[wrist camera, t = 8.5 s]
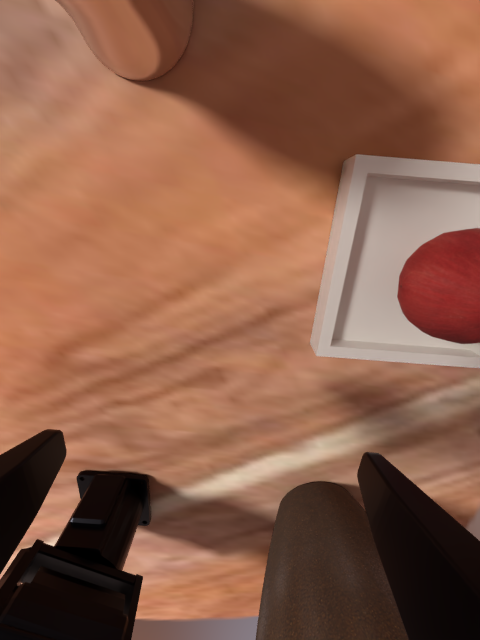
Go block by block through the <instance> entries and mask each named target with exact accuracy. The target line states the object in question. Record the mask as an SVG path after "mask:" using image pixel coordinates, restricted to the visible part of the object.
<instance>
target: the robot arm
mask: <svg viewBox="0 0 480 640" xmlns="http://www.w3.org/2000/svg"><path fill="white" fill-rule="evenodd" d="M65 457H66V446H65V441H64V436H63V432H62V431H60V430H52V429H47V430H44V431H42V432H40V433H39V434H37V435H35V436H33V437H31V438H30V439H28V440H26V441H24V442H23V443H21V444H19V445H17V446H15V447H14V448H12V449H10V450H8V451H7V452H5V453H3V454H1V455H0V574H1V572H2V571H3V569H4V567H5V566H6V564H7V562H8V561H9V559H10V558H11V556H12V554H13V553H14V551H15V549H16V548H17V546H18V545H19V543H20V541H21V540H22V538H23V536H24V535H25V533H26V532H27V530H28V528H29V527H30V525H31V523H32V522H33V520H34V518H35V517H36V515H37V513H38V511H39V509H40V507H41V506H42V504H43V502H44V500H45V498H46V496H47V494H48V492H49V490H50V488H51V486H52V484H53V482H54V480H55V478H56V476H57V474H58V472H59V470H60V468H61V466H62V464H63V462H64V460H65ZM357 477H358V482H359V486H360V490H361V494H362V498H363V502H364V506H365V510H366V514H367V518H368V522H369V526H370V529H371V533H372V536H373V540H374V543H375V546H376V549H377V552H378V554H379V557H380V560H381V563H382V566H383V569H384V571H385V574H386V577H387V580H388V583H389V585H390V588H391V591H392V594H393V597H394V600H395V602H396V605H397V608H398V611H399V614H400V617H401V619H402V622H403V625H404V628H405V631H406V633H407V636H408V639H409V640H480V541H479V540H478V539H477V538H476V537H474V536H473V535H472V534H471V533H470V532H469V531H468V530H466V529H465V528H464V527H463V526H462V525H461V524H460V523H458V522H457V521H456V520H455V519H454V518H453V517H452V516H450V515H449V514H448V513H447V512H446V511H445V510H444V509H442V508H441V507H440V506H439V505H438V504H437V503H436V502H434V501H433V500H432V499H431V498H430V497H429V496H428V495H426V494H425V493H424V492H423V491H422V490H421V489H420V488H418V487H417V486H416V485H415V484H414V483H413V482H412V481H410V480H409V479H408V478H407V477H406V476H405V475H404V474H402V473H401V472H400V471H399V470H398V469H397V468H396V467H394V466H393V465H392V464H391V463H390V462H389V461H388V460H386V459H385V458H384V457H383V456H382V455H380V454H379V453H372V452H365V453H364V454H363V456H362V459H361V463H360V466H359V469H358V474H357ZM77 483H78V488H79V493H80V498H81V500H80V502H79V504H78V506H77V507H76V509H75V511H74V513H73V514H72V516H71V518H70V520H69V521H68V523H67V525H66V527H65V528H64V530H63V532H62V534H61V535H60V537H59V539H58V541H57V542H56V544H55V546H54V547H53V546H51V545H48V544H45V543H43V542H44V541H41V540H39V539H37V540H36V541H35V543H34V544H33V546H32V547H30V548H26V549H21V550H20V551H19V553H18V554H17V556H16V557H15V559H14V560H13V562H12V563H11V565H10V566H9V568H8V569H7V571H6V572H5V574H4V575H3V577H2V578H1V579H0V640H131V637H132V632H133V626H134V622H135V616H136V611H137V606H138V601H139V595H140V590H141V585H142V580H143V576H140V575H138V574H136V575H133V574H130V573H127V572H124V571H122V570H123V567H124V564H125V561H126V558H127V555H128V552H129V549H130V547H131V544H132V541H133V538H134V535H135V532H136V529H137V526H138V525H142V526H147V525H149V524H150V520H151V511H150V496H149V480H148V478H147V477H146V476H144V475H131V474H117V473H103V472H89V471H81V472H80V473H79V474H78V476H77ZM21 583H23V584H21ZM20 584H21V585H20Z"/></svg>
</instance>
